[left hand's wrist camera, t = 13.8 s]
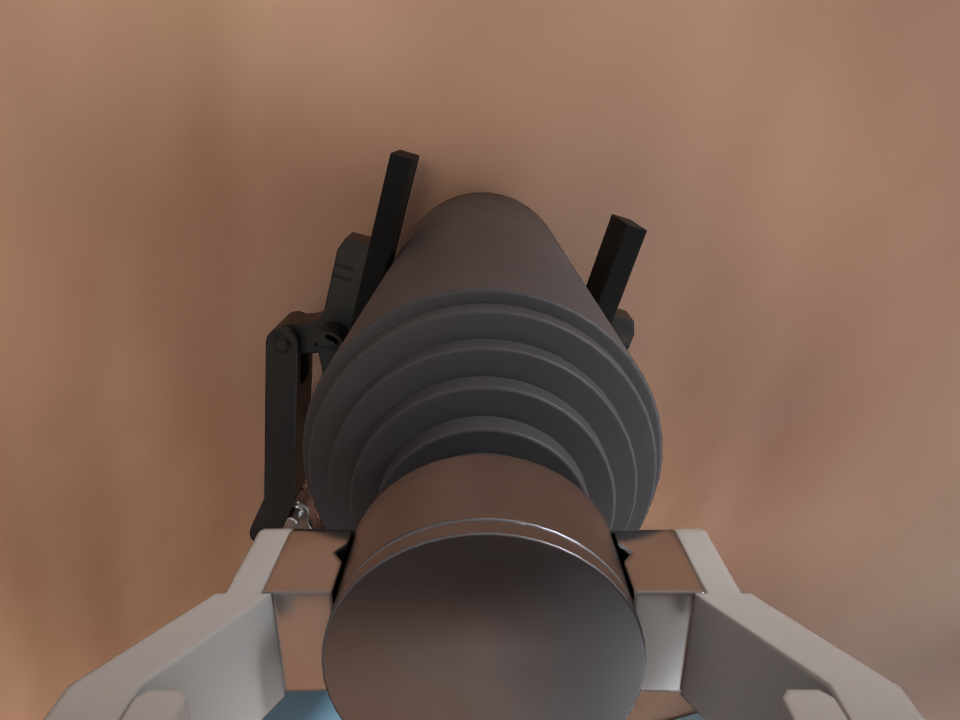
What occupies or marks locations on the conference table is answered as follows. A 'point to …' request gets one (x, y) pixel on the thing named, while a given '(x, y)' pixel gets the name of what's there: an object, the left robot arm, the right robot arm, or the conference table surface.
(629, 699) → the cap
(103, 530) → the conference table surface
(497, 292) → the bottle
